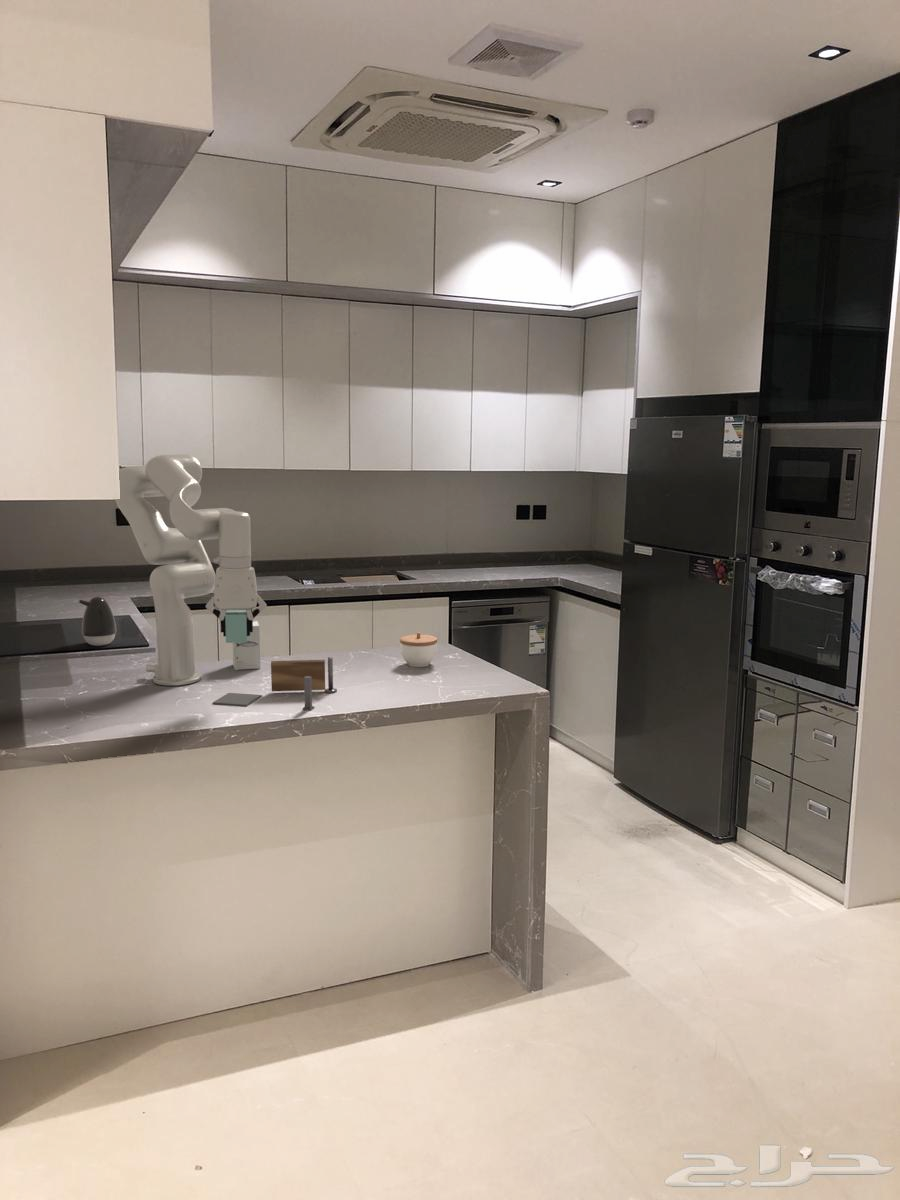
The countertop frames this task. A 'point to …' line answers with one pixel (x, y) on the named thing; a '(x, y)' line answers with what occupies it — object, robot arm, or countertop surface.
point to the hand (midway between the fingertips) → (236, 634)
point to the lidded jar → (418, 649)
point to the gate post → (330, 677)
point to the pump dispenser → (98, 622)
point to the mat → (237, 699)
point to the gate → (297, 674)
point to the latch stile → (308, 693)
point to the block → (236, 626)
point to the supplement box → (248, 651)
